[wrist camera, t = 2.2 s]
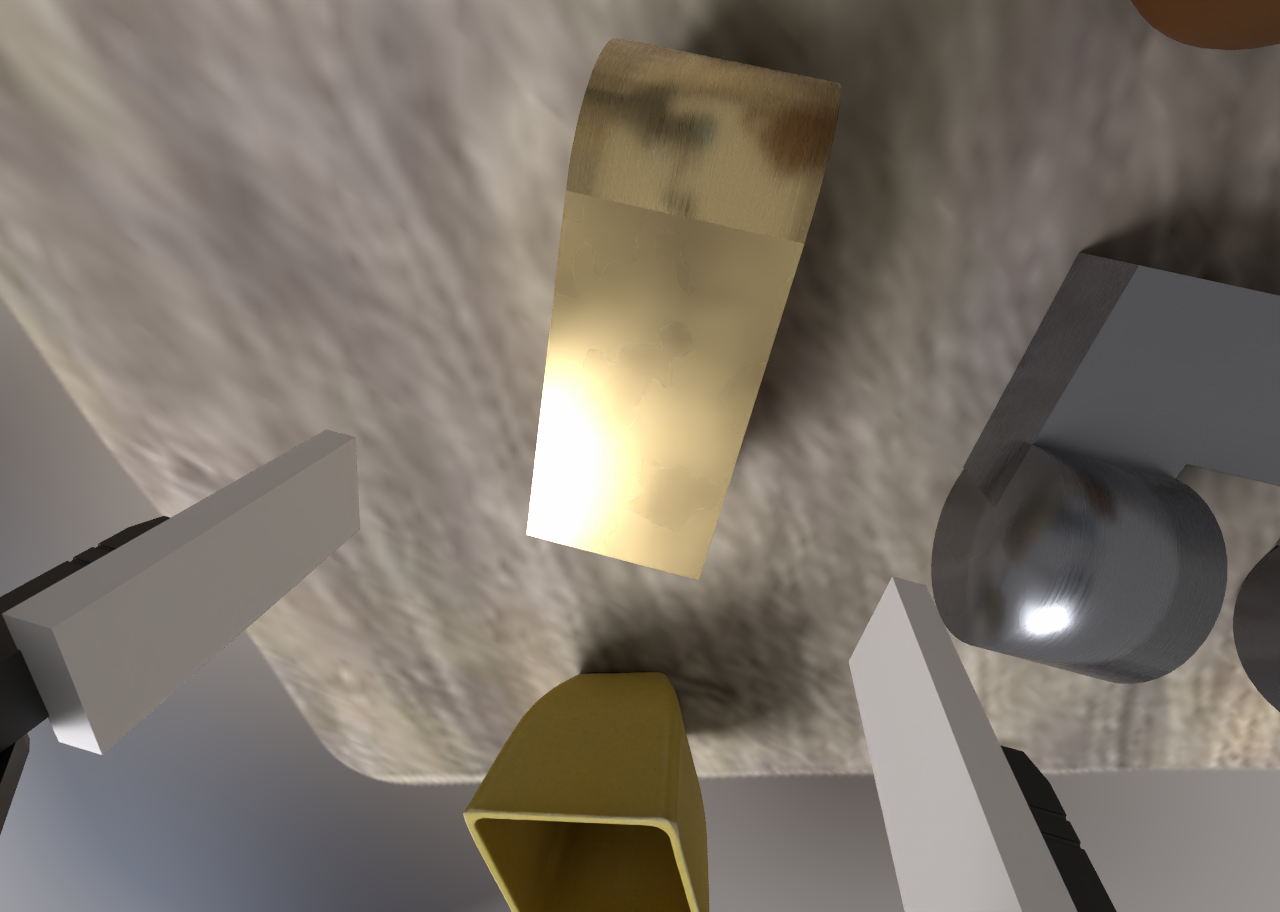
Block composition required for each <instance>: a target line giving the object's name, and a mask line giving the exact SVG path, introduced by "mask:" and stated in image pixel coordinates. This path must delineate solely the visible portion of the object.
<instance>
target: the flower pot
mask: <svg viewBox="0 0 1280 912" xmlns="http://www.w3.org/2000/svg"><path fill="white" fill-rule="evenodd" d="M464 818H465V821H466V824H467V826H468V828H469V831H470V832H471V835H472V837H473V839H474V841H475V843H476V845H477V847H478V849H479V851H480V853H481V855H482V856H483V858H484V860H485V862H486V864H487V866H488V867H489V870H490V871H491V874H492V875H493V877H494V879H495V881H496V882H497V884H498V886H499V888H500V890H501V892H502V894H503V896H504V898H505V899H506V901H507V903H508V904H509V907H510V909H511V911H512V912H709V887H708V886H709V884H708V857H707V833H706V821H705V813H704V806H703V801H702V795H701V790H700V786H699V782H698V778H697V774H696V770H695V767H694V763H693V759H692V755H691V751H690V747H689V743H688V739H687V735H686V731H685V727H684V723H683V719H682V715H681V710H680V706H679V702H678V698H677V695H676V692H675V690H674V688H673V685H672V684H671V682H670V680H669V679H668V677H667V676H666V675H665V674H663V673H660V672H643V673H596V674H580V675H577V676H575V677H573V678H571V679H569V680H567V681H565V682H563V683H561V684H560V685H558V686H557V687H555V688H553V689H552V690H551V691H549V692H548V693H547V694H545V695H544V696H543V697H542V698H541V699H539V700H538V701H537V702H536V703H535V704H534V705H533V706H532V707H531V708H530V710H529V711H528V712H527V713H526V714H525V715H524V716H523V718H522V719H521V721H520V722H519V723H518V725H517V726H516V728H515V729H514V731H513V732H512V734H511V735H510V737H509V739H508V740H507V742H506V743H505V745H504V747H503V748H502V750H501V751H500V753H499V755H498V756H497V758H496V760H495V761H494V763H493V765H492V767H491V768H490V770H489V772H488V773H487V775H486V777H485V778H484V780H483V782H482V783H481V785H480V787H479V788H478V790H477V792H476V793H475V795H474V797H473V798H472V800H471V802H470V803H469V805H468V807H467V808H466V810H465V812H464Z"/></svg>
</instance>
